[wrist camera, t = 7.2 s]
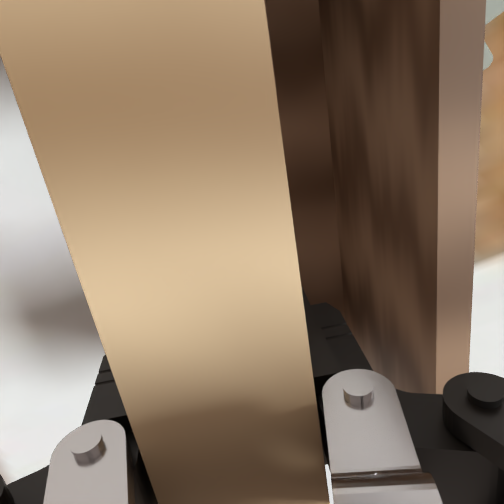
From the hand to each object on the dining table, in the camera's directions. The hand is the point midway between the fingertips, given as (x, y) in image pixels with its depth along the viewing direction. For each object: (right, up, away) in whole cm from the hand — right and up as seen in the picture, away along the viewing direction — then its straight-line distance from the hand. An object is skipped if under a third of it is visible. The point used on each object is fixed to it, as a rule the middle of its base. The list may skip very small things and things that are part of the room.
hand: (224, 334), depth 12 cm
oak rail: (0, +1, +3) cm, 3 cm away
